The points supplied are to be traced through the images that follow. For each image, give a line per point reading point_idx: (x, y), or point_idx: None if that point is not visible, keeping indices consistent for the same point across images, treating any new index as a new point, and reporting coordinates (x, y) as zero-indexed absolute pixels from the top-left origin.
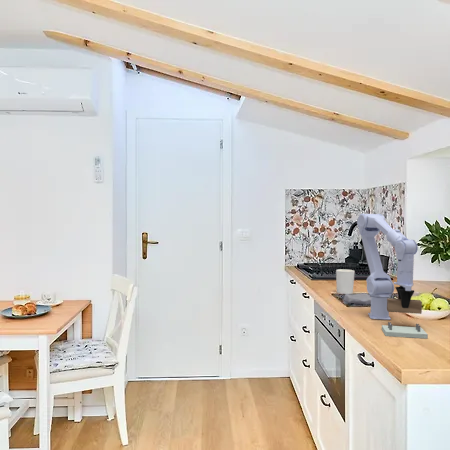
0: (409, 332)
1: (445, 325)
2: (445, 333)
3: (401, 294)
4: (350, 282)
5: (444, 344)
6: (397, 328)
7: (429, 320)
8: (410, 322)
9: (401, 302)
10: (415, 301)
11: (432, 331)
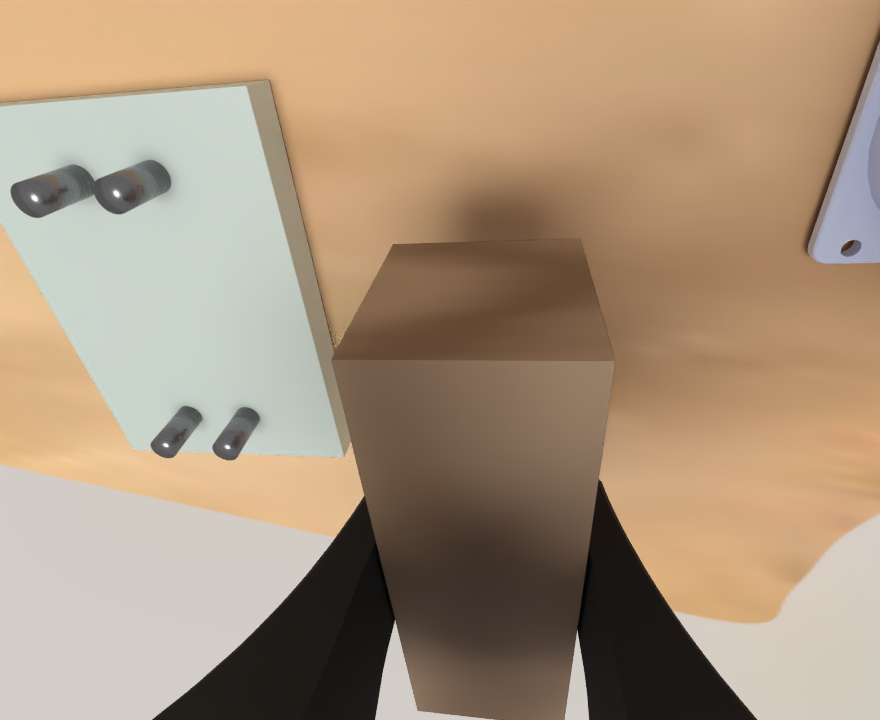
0: (98, 342)
1: None
2: None
3: (207, 684)
4: None
5: (81, 478)
6: (183, 262)
7: (789, 561)
8: (697, 425)
9: (369, 526)
10: (415, 673)
11: None
